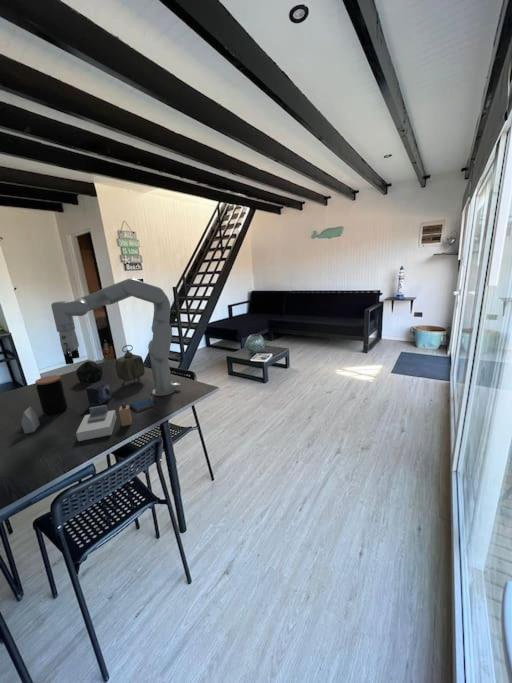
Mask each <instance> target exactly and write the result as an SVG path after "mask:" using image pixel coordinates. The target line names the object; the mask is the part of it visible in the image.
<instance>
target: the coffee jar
mask: <svg viewBox="0 0 512 683" xmlns="http://www.w3.org/2000/svg"><path fill="white" fill-rule="evenodd" d="M34 383H35V385H36V388H35V389H36V391H37V394H38V400H39V403H40V406H41V410H42V413H43V414H44V415H45V416H49V417H53V416H56V415H57V416H58V415H61V414H62V413H64V412H66V411H67V409H68V401H67V397H66V394H65V389H64V386H63V381H62V380H61V375H57V374H56V375H55V374H54V375H53V374H52V375H48V376H43V377H40V378H38V379H36V380H35V381H34Z"/></svg>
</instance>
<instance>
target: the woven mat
mask: <svg viewBox="0 0 512 683" xmlns="http://www.w3.org/2000/svg"><path fill="white" fill-rule="evenodd" d="M128 405H129V406H130V408H131V410H133V411H134V412H136V413H139V412H141V411H144V410H148V409H149V408H152V407H154V406H156V403H155V402H154V401H153V400H150V399H149V398H147V397H146V398H142V399H140V400H137V401H134V402H132V403H131V402H130V403H129V404H128Z"/></svg>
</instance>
